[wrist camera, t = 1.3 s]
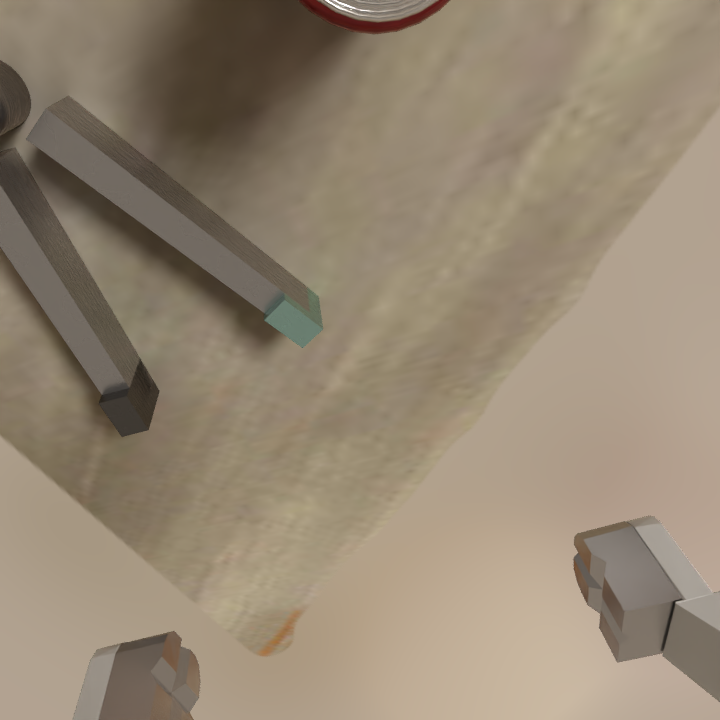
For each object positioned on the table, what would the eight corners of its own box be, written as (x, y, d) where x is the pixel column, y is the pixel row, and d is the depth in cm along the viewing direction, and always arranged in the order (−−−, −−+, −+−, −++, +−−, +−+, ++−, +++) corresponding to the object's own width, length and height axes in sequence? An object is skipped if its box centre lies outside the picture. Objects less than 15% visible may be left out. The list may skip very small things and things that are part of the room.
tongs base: (-81, 59, 24) (-179, 81, 19) (8, 35, 24) (-66, 50, 19) (135, 397, 37) (112, 466, 32) (193, 382, 37) (179, 449, 32)
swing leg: (49, 123, 27) (19, 143, 23) (68, 95, 26) (39, 112, 23) (300, 314, 35) (302, 348, 32) (318, 296, 34) (323, 329, 31)
